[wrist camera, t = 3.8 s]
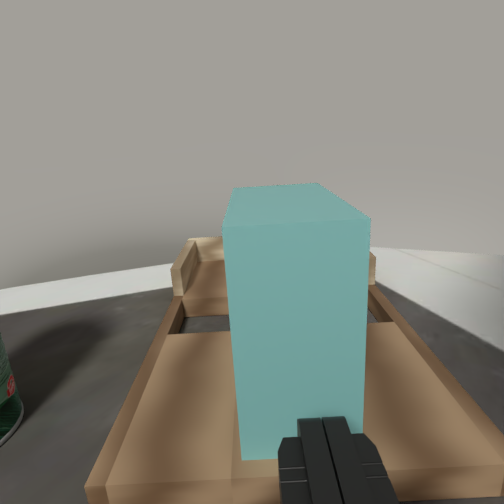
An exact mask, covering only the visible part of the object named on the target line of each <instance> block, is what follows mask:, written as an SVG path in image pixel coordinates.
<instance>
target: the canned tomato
mask: <svg viewBox="0 0 504 504" xmlns="http://www.w3.org/2000/svg"><path fill="white" fill-rule="evenodd" d="M23 414H24V407H23V403H22V401H21V400H20V397H19V393H18V389H17V385H16V382H15V380H14V375H13V373H12V370H11V365H10V363H9V360H8V356H7V353H6V350H5V346H4V343H3V340H2V337H1V333H0V446H1V445H2V444H3V443H4V442H5V441H7V440H8V439H9V438H10V437H11V435H12V434H13V433H14V432H15V430H16V429H17V428H18V426H19V424H20V422H21V420H22V418H23Z"/></svg>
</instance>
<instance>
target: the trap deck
mask: <svg viewBox="0 0 504 504" xmlns="http://www.w3.org/2000/svg"><path fill="white" fill-rule="evenodd" d="M375 266H376V257H375V256H374V255H373V254H372V253H371V252H370V251H369V276H368V302H367V307H368V308H369V310H370V311H371V313H372V314H373V315H374V317H375V318H376V320H377V321H378V323H367V329H366V355H365V382H364V408H363V433H364V434H365V435H366V436H367V437H368V438H369V439H370V440H371V441H372V442H373V443H374V444H375V445H376V447H377V450H378V452H379V454H380V457H381V459H382V462H383V465H384V466H385V469H386V471H387V474H388V478H389V479H390V481H391V483H392V486H393V488H394V491H395V493H396V496H397V498H398V500H399V502H400V501H419V500H438V499H458V498H477V497H496V496H504V435H503V434H502V433H501V432H500V430H499V429H498V428H497V427H496V426H495V425H494V423H493V422H492V421H491V420H490V419H489V418H488V416H487V415H486V414H485V413H484V412H483V411H482V409H481V408H480V407H479V406H478V405H477V404H476V402H475V401H474V400H473V399H472V398H471V397H470V395H469V394H468V393H467V392H466V391H465V389H464V388H463V387H462V386H461V385H460V384H459V382H458V381H457V380H456V379H455V378H454V377H453V375H452V374H451V373H450V372H449V371H448V370H447V368H446V367H445V366H444V365H443V364H442V363H441V361H440V360H439V359H438V358H437V357H436V356H435V354H434V353H433V352H432V351H431V350H430V349H429V347H428V346H427V345H426V344H425V343H424V342H423V340H422V339H421V338H420V337H419V336H418V335H417V333H416V332H415V331H414V330H413V329H412V328H411V326H410V325H409V324H408V323H407V322H406V320H405V319H404V318H403V317H402V316H401V315H400V313H399V312H398V311H397V310H396V309H395V308H394V306H393V305H392V304H391V303H390V302H389V301H388V299H387V298H386V297H385V296H384V295H383V294H382V292H381V291H380V290H379V289H378V288H377V287H376V285H375ZM171 277H172V284H173V292H174V297H173V299H172V302H171V304H170V306H169V308H168V310H167V312H166V314H165V316H164V319H163V321H162V323H161V325H160V327H159V329H158V331H157V333H156V335H155V338H154V340H153V342H152V344H151V346H150V348H149V350H148V352H147V355H146V357H145V359H144V361H143V363H142V365H141V367H140V369H139V372H138V374H137V376H136V378H135V380H134V382H133V384H132V386H131V389H130V391H129V393H128V395H127V397H126V399H125V401H124V403H123V405H122V408H121V410H120V412H119V414H118V416H117V418H116V420H115V422H114V425H113V427H112V429H111V431H110V433H109V435H108V437H107V439H106V442H105V444H104V446H103V448H102V450H101V452H100V454H99V456H98V459H97V461H96V463H95V465H94V467H93V469H92V471H91V473H90V476H89V478H88V480H87V482H86V484H85V486H84V487H85V491H86V495H87V499H88V503H89V504H281V503H280V491H279V472H278V459H262V460H243V461H242V458H241V446H240V435H239V423H238V411H237V400H236V388H235V377H234V365H233V354H232V342H231V331H223V332H206V333H188V334H178V333H179V330H180V327H181V325H182V322H183V319H184V317H196V316H213V315H229V307H228V296H227V284H226V272H225V261H224V249H223V238H222V236H221V237H204V238H189V239H188V241H187V242H186V244H185V246H184V247H183V249H182V251H181V252H180V254H179V256H178V258H177V259H176V261H175V262H174V264H173V266H172V268H171Z"/></svg>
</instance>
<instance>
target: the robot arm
mask: <svg viewBox="0 0 504 504" xmlns="http://www.w3.org/2000/svg"><path fill="white" fill-rule="evenodd" d="M278 472H279V491H280V503H281V504H400V503H399V500H398V498H397V496H396V493H395V491H394V488H393V486H392V483H391V481H390V479H389V478H388V474H387V471H386V469H385V466H384V465H383V462H382V459H381V457H380V454H379V452H378V450H377V447H376V445H375V444H374V443H373V442H372V441H371V440H370V439H369V438H368V437H367V436H366V435H365V434H364V433H356V434H351V432H350V429H349V426H348V423H347V421H346V418H345V416H335V417H321V418H320V417H318V418H299V419H297V437H283V439H282V441H281V444H280V446H279V449H278Z"/></svg>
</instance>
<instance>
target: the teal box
mask: <svg viewBox="0 0 504 504" xmlns="http://www.w3.org/2000/svg"><path fill="white" fill-rule="evenodd" d="M370 222H371V219H370V218H369V217H368V216H366V215H364V214H363V213H362V212H360V211H359V210H357V209H356V208H354V207H353V206H351V205H350V204H348V203H347V202H345V201H344V200H342V199H341V198H339V197H337V196H336V195H335V194H333V193H331V192H330V191H329V190H327V189H326V188H324V187H323V186H321V185H320V184H318V183H310V184H292V185H276V186H260V187H243V188H233V192H232V195H231V198H230V202H229V205H228V208H227V211H226V215H225V218H224V221H223V225H222V238H223V249H224V261H225V272H226V284H227V296H228V307H229V319H230V330H231V342H232V354H233V365H234V377H235V388H236V400H237V411H238V423H239V435H240V446H241V458H242V461H243V460H262V459H278V449H279V446H280V444H281V441H282V439H283V437H297V419H299V418H318V417H320V418H321V417H335V416H345V418H346V421H347V423H348V426H349V429H350V432H351V434H356V433H363V408H364V382H365V355H366V329H367V302H368V276H369V250H370Z"/></svg>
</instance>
